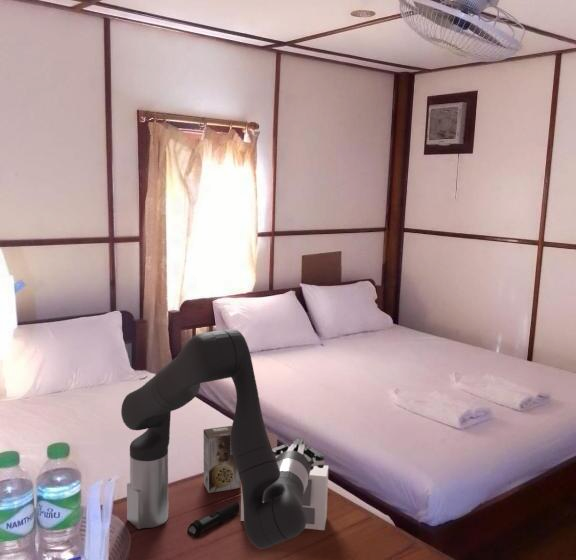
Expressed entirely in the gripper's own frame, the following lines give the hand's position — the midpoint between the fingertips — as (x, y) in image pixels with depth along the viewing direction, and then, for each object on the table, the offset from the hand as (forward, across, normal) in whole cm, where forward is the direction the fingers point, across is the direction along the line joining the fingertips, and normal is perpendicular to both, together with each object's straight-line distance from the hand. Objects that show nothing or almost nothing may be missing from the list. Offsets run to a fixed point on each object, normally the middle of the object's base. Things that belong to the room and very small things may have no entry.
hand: (300, 442), depth 137 cm
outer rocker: (+7, 0, +19) cm, 20 cm away
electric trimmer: (+7, +22, +26) cm, 35 cm away
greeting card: (+31, +14, +26) cm, 43 cm away
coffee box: (+26, +25, +26) cm, 45 cm away
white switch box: (+12, +5, +26) cm, 29 cm away
